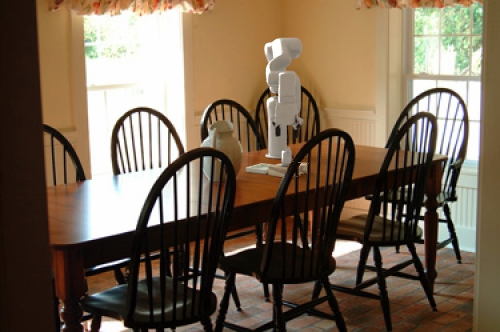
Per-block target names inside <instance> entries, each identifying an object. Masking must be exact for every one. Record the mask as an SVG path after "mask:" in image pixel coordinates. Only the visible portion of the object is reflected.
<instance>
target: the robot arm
mask: <svg viewBox="0 0 500 332" xmlns="http://www.w3.org/2000/svg"><path fill="white" fill-rule="evenodd" d="M302 52H303V43H302V41H301V40H300V38H297V37H278V38H275V40H273V41H271V42H267V43H266V44H265V45H264V55H265V58H266V61H267V62H268V64H267V65H266V67H265V79H266V80H265V81H266V84H267V86H268V87H269V91H270V92H271V93H272V94H278V95H275V96H269V98H267V100H266V111H267V123H268V124H267V125H268V127H267V128H268V130H267V134H268V139H267V140H268V141H267V142H268V143H267V145H268V153H265V154H264V155H265V156H264V157H265V158H267V159H274V160H275V159H278V160H279V159H281V160H282V151H283V150H290V151H292V150H291V147H290V146H289V147H288V146H287V143H288V141H287V139H288V134H287V130H288V129H287V126H292V127H293V131H292V134H293V135H292V138H293V139H298V138H299V135H300V134H299V133H300V129H301V127H302V126H303V124H304V119H303V118H302V117H300V116H299V113H300V112H301V106H302V105H301V104H302V103H301V99H302V98H301V96H302V95H301V93H302V92H301V89H302V88H301V87H302V86H301V84H302V83H301V80H300V76H298V74H297V73H296V71H294V70H287V68H288V67H290V66H291V64H292V61H293V59H294V60H295V59H298V58H299V57H300V56H301V55H302Z"/></svg>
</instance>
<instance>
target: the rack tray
mask: <svg viewBox="0 0 500 332" xmlns="http://www.w3.org/2000/svg"><path fill="white" fill-rule="evenodd" d="M273 165H274V164H270V163H258V164H255V165H251V166H245V172H247V173H251V174H258V175H259V174H260V175H267V174H268V175H269V168H268V167H269V166H273Z"/></svg>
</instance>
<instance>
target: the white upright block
mask: <svg viewBox="0 0 500 332" xmlns="http://www.w3.org/2000/svg"><path fill="white" fill-rule="evenodd" d="M292 153H293V152H292V150H283V151H282V158H281V163H282V167H288V166H289V164H290V163H291V161H292V162H293V160H292Z"/></svg>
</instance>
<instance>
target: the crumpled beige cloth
mask: <svg viewBox="0 0 500 332" xmlns="http://www.w3.org/2000/svg"><path fill="white" fill-rule="evenodd" d="M300 163H301V164H300V166H299V176H301V175H300V174H303V175H305V174H304V173H306V174H308V173H307V164H305V163H306V162H304V163H303V162H300ZM272 165H273V166H269V167H268V168H269V173H268V176H272V177H280V178H284V177H283V176H284V174H285V172H286V170H287V168H288V167H282V162H281V163H280V162H279V163H277V164H272ZM293 178H296V177H295V174H294V177H293Z"/></svg>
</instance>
